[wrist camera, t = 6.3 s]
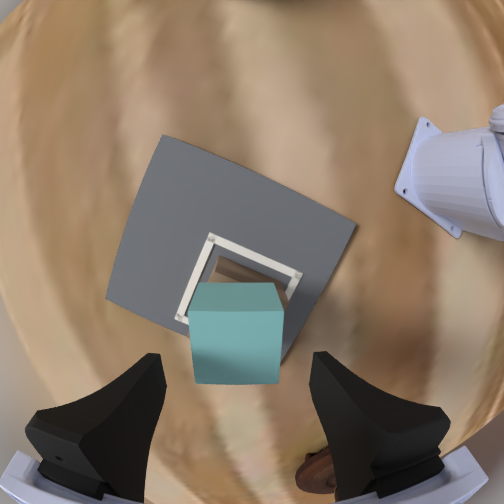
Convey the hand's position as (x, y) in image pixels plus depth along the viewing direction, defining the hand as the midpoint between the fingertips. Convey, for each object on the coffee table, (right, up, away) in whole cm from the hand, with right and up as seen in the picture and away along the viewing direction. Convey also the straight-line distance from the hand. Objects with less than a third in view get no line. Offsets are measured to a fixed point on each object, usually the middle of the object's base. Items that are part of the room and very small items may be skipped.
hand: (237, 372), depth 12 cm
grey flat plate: (-2, +5, +9) cm, 10 cm away
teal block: (0, +2, +5) cm, 5 cm away
